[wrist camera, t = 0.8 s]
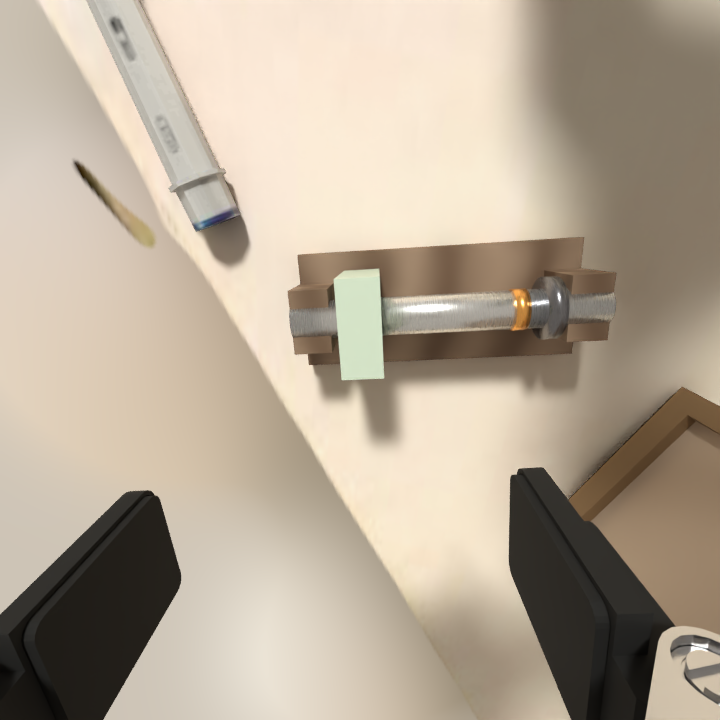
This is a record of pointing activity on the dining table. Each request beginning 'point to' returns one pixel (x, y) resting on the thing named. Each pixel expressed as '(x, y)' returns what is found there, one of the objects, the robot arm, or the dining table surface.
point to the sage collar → (359, 324)
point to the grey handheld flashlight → (165, 112)
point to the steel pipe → (474, 312)
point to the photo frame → (666, 508)
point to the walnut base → (454, 275)
